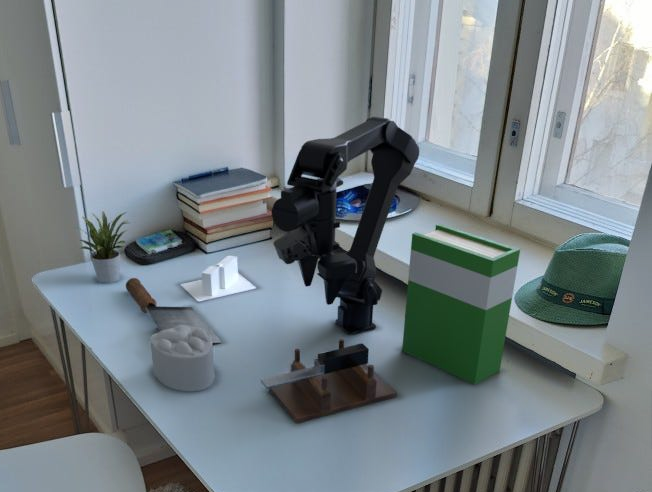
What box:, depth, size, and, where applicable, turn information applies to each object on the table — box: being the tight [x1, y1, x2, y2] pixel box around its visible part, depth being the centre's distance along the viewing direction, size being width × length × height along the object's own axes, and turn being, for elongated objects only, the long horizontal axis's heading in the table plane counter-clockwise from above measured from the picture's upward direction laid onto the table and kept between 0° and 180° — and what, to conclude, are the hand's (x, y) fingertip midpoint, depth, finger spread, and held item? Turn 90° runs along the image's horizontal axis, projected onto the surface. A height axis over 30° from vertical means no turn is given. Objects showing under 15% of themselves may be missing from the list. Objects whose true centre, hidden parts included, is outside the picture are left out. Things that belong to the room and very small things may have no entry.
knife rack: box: [268, 338, 398, 424], centre depth 139 cm, size 20×12×8 cm, turn 112°
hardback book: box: [401, 223, 521, 385], centre depth 143 cm, size 18×7×24 cm, turn 38°
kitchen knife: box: [260, 342, 370, 390], centre depth 136 cm, size 20×3×3 cm, turn 112°
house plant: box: [74, 211, 130, 284], centre depth 184 cm, size 14×14×16 cm
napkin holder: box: [180, 255, 257, 302], centre depth 181 cm, size 15×11×6 cm
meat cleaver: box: [125, 277, 223, 344], centre depth 169 cm, size 34×11×4 cm, turn 23°
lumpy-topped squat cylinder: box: [149, 325, 215, 392], centre depth 146 cm, size 10×13×9 cm
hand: (318, 294), depth 148 cm, fingers open, 9 cm apart
